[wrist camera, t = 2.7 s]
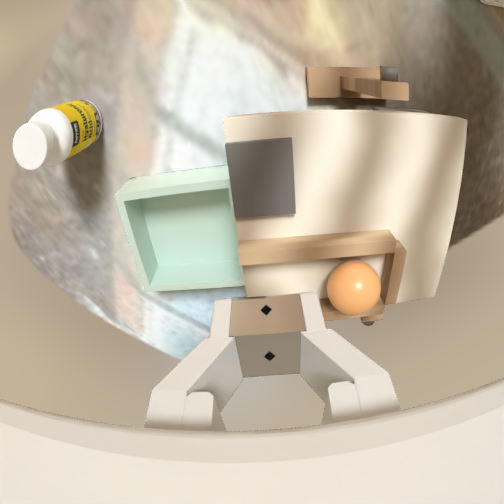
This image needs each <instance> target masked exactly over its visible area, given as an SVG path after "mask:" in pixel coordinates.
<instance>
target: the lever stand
mask: <svg viewBox="0 0 504 504" xmlns="http://www.w3.org/2000/svg"><path fill="white" fill-rule="evenodd" d="M306 75H307V89H308V97H309V98H378V99H391V100H405V101H409V83H404V82H398V70H397V68H395V67H383V66H380V69H374V68H356V67H306ZM383 315H384V311H383V314H379V315H372V316H364V317H360V318H361V320H362V323H364V324H365V325H367V326H369V325H372V324H373V323H374V321H377V320H382V319H383Z"/></svg>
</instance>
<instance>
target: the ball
mask: <svg viewBox="0 0 504 504" xmlns="http://www.w3.org/2000/svg"><path fill="white" fill-rule="evenodd" d="M327 293H328V297H329V300H330V302H331V303H332V305H333V306H334V307H335V308H336V309H337V310H338V311H340V312H341V313H344V314H347V315H361V314H364V313H366V312H368V311H369V310H370V309H372V308H373V307H374V305H375V304H376V303H377V301H378V299H379V297H380V293H381V282H380V278H379V276H378V274H377V272H376V271H375V269H374V268H373V267H372V266H370V265H369V264H367V263H365V262H362V261H358V260H351V261H346V262H344V263H342V264H340V265H339V266H337V267H336V268H335V269H334V270H333V272H332V273H331V275H330V277H329V280H328V284H327Z"/></svg>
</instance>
